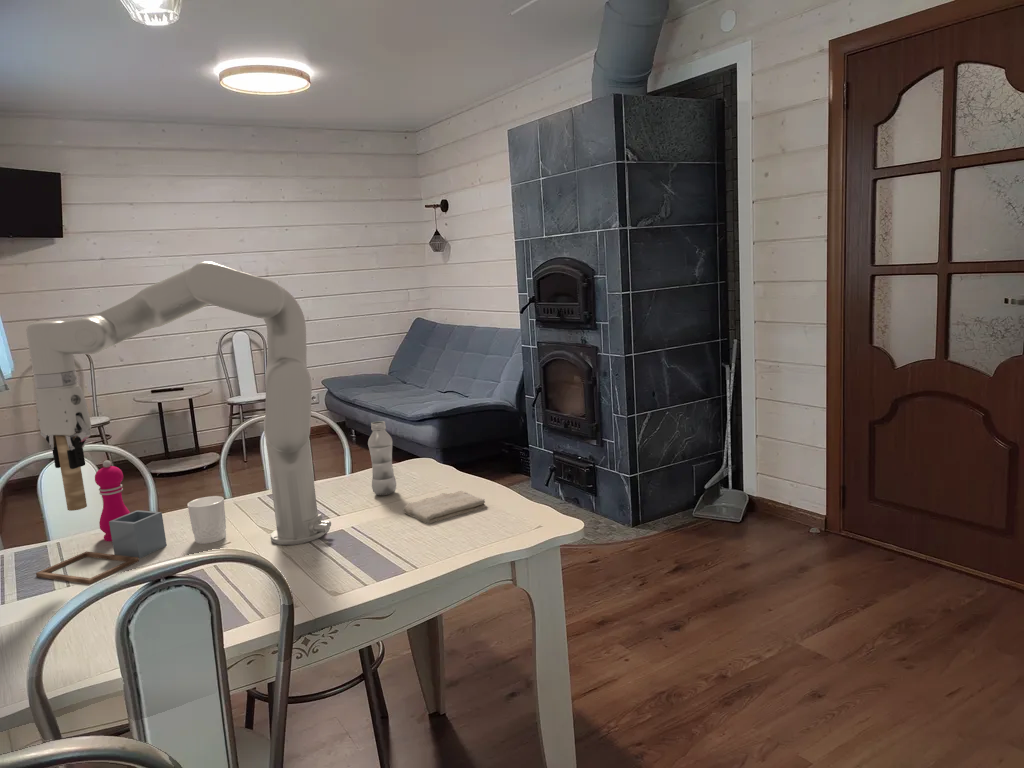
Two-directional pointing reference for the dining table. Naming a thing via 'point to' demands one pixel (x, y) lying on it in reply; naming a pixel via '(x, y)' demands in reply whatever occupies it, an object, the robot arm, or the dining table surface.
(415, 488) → the dining table surface
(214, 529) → the white cup
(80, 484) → the dowel
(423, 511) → the washcloth
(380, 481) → the plastic bottle
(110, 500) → the pepper mill
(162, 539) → the grey hollow box
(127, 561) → the tray
